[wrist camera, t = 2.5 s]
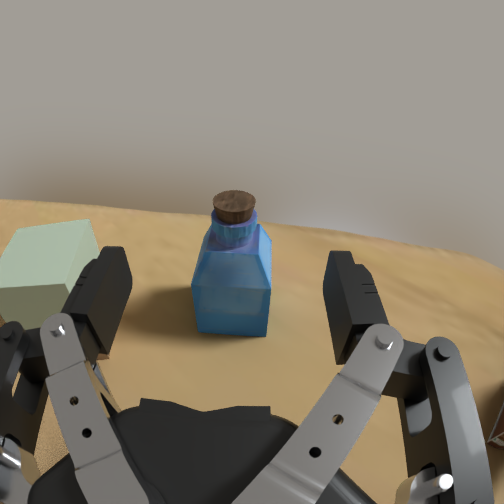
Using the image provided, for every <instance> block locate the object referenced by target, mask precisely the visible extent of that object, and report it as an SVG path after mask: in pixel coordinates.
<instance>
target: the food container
mask: <svg viewBox="0 0 504 504" xmlns="http://www.w3.org/2000/svg"><path fill="white" fill-rule="evenodd" d="M487 443H488V444H489V445H491V446H493V447H495V448H500V449H504V402H503V405H502V407H501V410H500V413H499V415H498V418H497V420H496V423H495V425H494V428H493V430H492V432H491V435H490V437H489V439H488V441H487Z"/></svg>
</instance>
